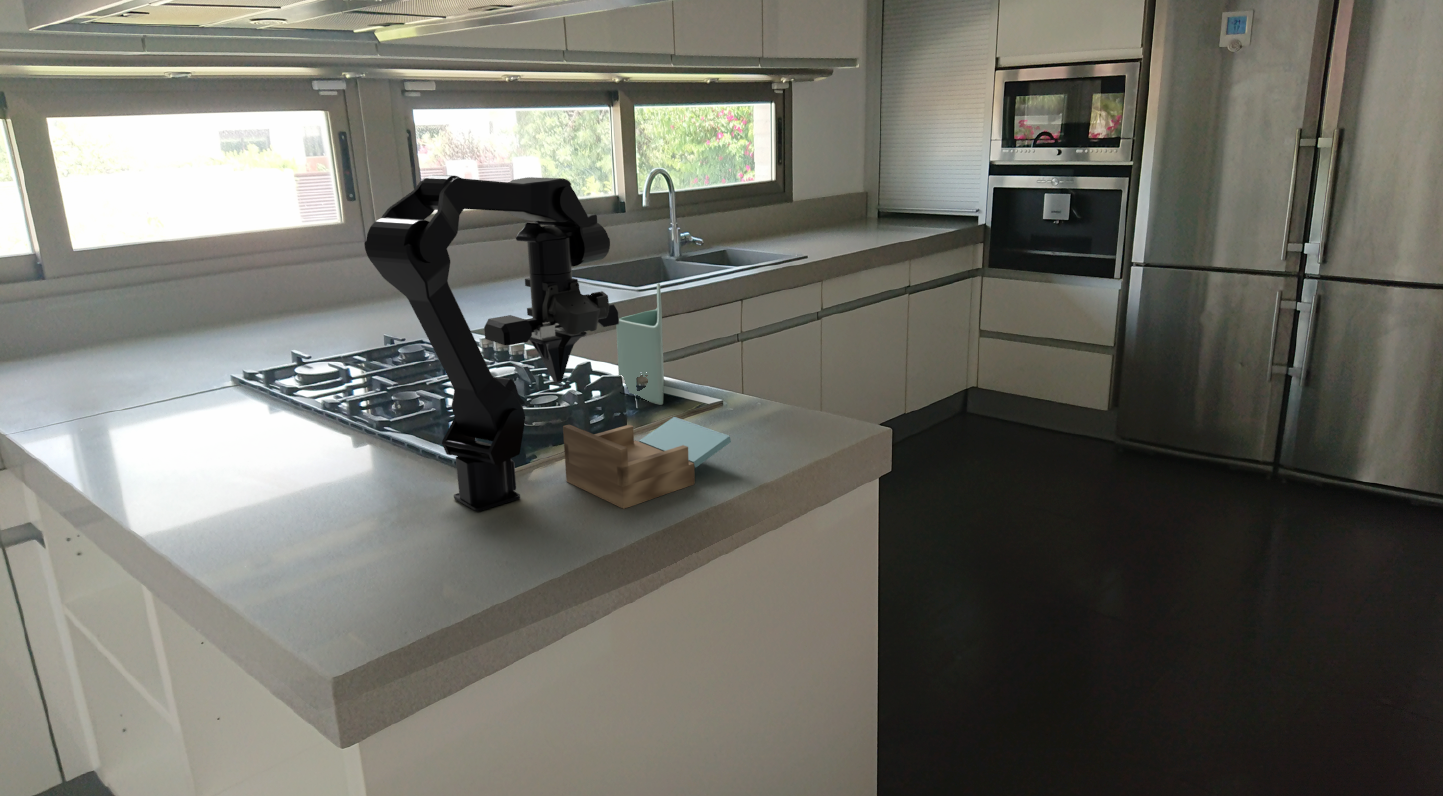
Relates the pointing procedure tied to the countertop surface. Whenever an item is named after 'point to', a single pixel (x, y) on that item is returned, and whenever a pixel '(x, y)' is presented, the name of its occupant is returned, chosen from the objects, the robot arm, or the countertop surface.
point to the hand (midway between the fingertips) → (557, 381)
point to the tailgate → (687, 439)
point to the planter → (642, 351)
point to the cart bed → (623, 466)
